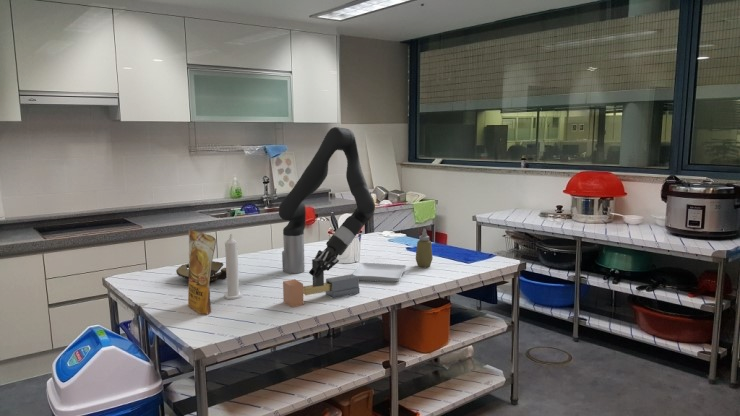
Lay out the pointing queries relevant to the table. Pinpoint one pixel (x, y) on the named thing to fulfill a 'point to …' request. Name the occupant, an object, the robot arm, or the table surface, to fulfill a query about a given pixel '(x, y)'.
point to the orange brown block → (293, 293)
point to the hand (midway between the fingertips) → (313, 275)
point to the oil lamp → (215, 268)
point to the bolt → (317, 280)
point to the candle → (232, 269)
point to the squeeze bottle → (424, 251)
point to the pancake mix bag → (200, 270)
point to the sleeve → (343, 286)
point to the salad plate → (379, 272)
